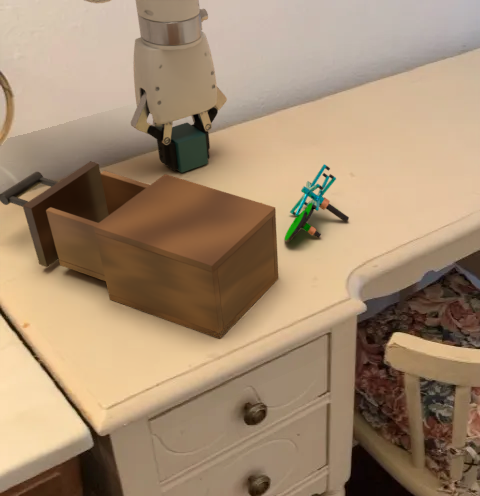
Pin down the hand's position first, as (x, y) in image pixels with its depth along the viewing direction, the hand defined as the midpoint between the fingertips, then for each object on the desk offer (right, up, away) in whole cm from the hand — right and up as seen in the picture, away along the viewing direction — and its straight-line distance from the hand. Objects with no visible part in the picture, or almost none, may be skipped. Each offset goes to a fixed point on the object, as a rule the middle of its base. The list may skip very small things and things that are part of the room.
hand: (185, 159), depth 116 cm
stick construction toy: (+19, -11, -9) cm, 24 cm away
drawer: (-7, -15, -17) cm, 24 cm away
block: (0, 0, 0) cm, 0 cm away
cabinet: (+6, -21, -20) cm, 29 cm away
